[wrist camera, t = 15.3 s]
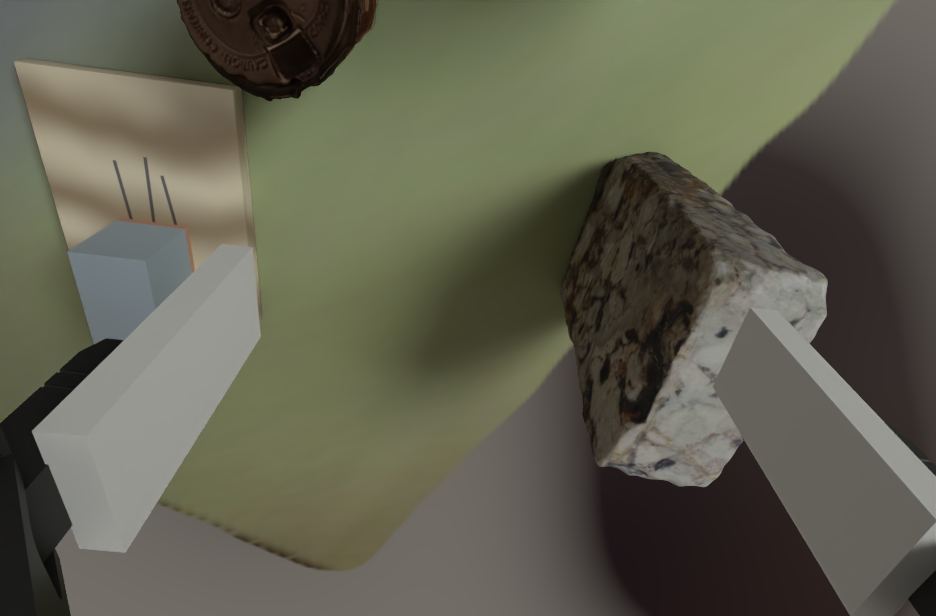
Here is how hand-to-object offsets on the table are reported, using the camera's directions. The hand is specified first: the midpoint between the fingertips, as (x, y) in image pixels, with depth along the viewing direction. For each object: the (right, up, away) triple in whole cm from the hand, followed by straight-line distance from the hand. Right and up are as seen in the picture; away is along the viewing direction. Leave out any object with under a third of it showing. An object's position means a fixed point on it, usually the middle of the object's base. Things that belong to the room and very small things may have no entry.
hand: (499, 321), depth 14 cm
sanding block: (-25, +3, +28) cm, 37 cm away
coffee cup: (-10, +20, +19) cm, 30 cm away
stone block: (+10, +7, +27) cm, 30 cm away
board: (-25, +8, +26) cm, 37 cm away
